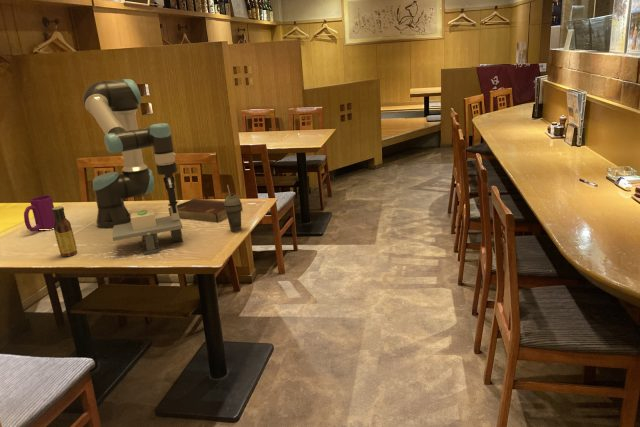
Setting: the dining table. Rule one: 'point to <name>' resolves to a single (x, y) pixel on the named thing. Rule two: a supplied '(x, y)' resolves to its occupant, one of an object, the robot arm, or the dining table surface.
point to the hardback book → (202, 210)
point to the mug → (40, 213)
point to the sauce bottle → (64, 233)
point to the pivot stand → (152, 241)
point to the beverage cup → (233, 211)
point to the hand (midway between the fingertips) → (175, 219)
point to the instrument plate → (136, 233)
